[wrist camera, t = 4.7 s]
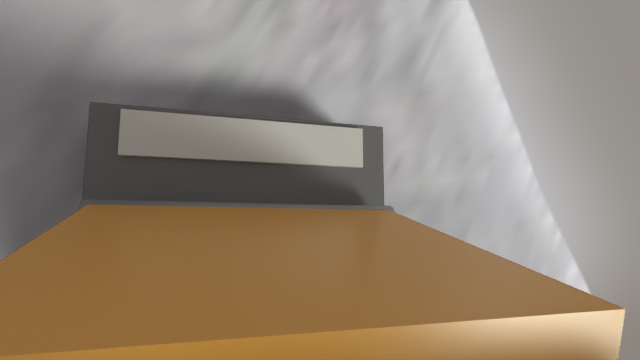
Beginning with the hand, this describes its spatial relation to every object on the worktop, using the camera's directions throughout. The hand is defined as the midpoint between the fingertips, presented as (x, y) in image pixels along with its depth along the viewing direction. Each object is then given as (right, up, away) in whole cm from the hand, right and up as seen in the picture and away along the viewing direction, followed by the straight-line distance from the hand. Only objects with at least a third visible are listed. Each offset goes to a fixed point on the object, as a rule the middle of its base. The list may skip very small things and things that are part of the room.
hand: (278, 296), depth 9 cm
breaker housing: (-3, +1, +8) cm, 9 cm away
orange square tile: (-1, +1, +5) cm, 5 cm away
